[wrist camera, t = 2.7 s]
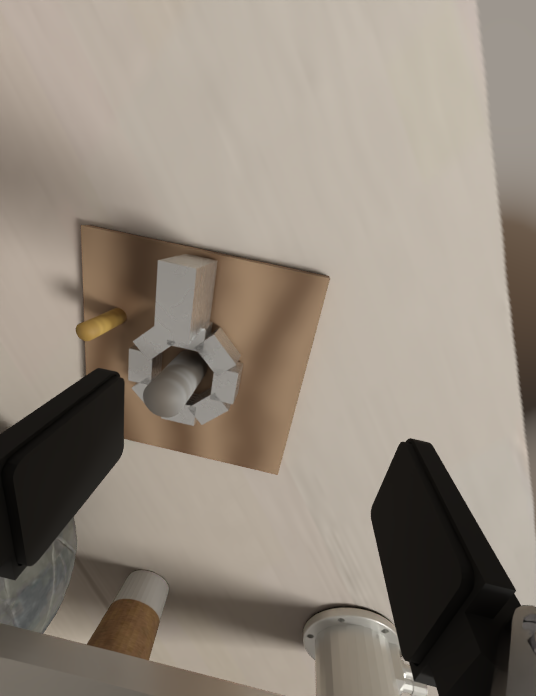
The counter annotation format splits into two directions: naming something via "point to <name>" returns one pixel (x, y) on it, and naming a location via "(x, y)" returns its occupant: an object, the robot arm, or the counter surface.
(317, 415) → the counter surface
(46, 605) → the bowl
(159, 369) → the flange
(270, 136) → the counter surface
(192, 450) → the post base
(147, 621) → the coffee cup
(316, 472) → the counter surface
